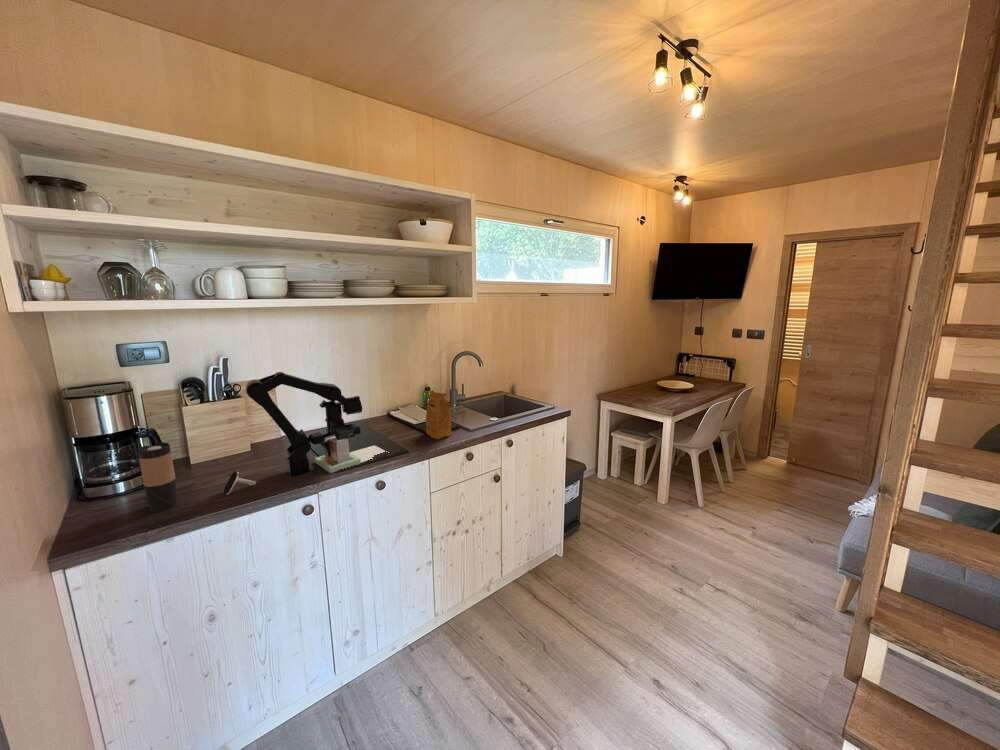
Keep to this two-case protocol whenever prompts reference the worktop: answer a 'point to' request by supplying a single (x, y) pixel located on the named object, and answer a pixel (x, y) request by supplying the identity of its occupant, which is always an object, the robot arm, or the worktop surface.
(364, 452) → the plate
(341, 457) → the small box
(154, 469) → the travel mug
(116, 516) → the worktop surface
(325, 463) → the pocket frame
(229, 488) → the rubber stamp
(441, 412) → the coffee package
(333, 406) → the robot arm
